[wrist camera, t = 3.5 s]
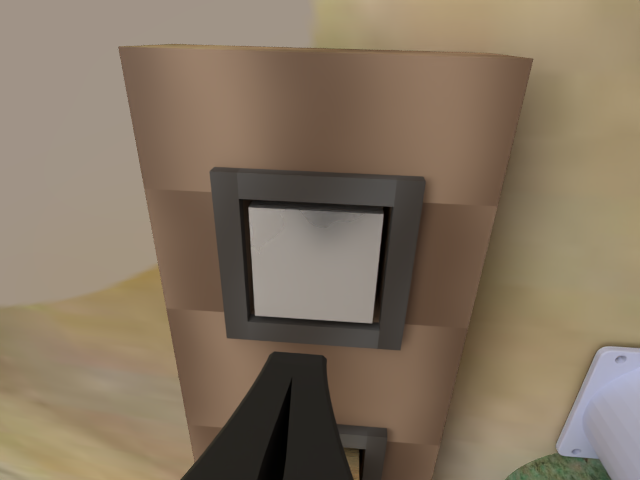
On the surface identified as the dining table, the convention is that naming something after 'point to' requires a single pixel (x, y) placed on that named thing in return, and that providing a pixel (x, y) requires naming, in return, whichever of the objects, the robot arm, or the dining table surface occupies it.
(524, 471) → the decorative artifact
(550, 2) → the dining table surface
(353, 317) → the steel peg
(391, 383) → the walnut board
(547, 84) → the dining table surface
